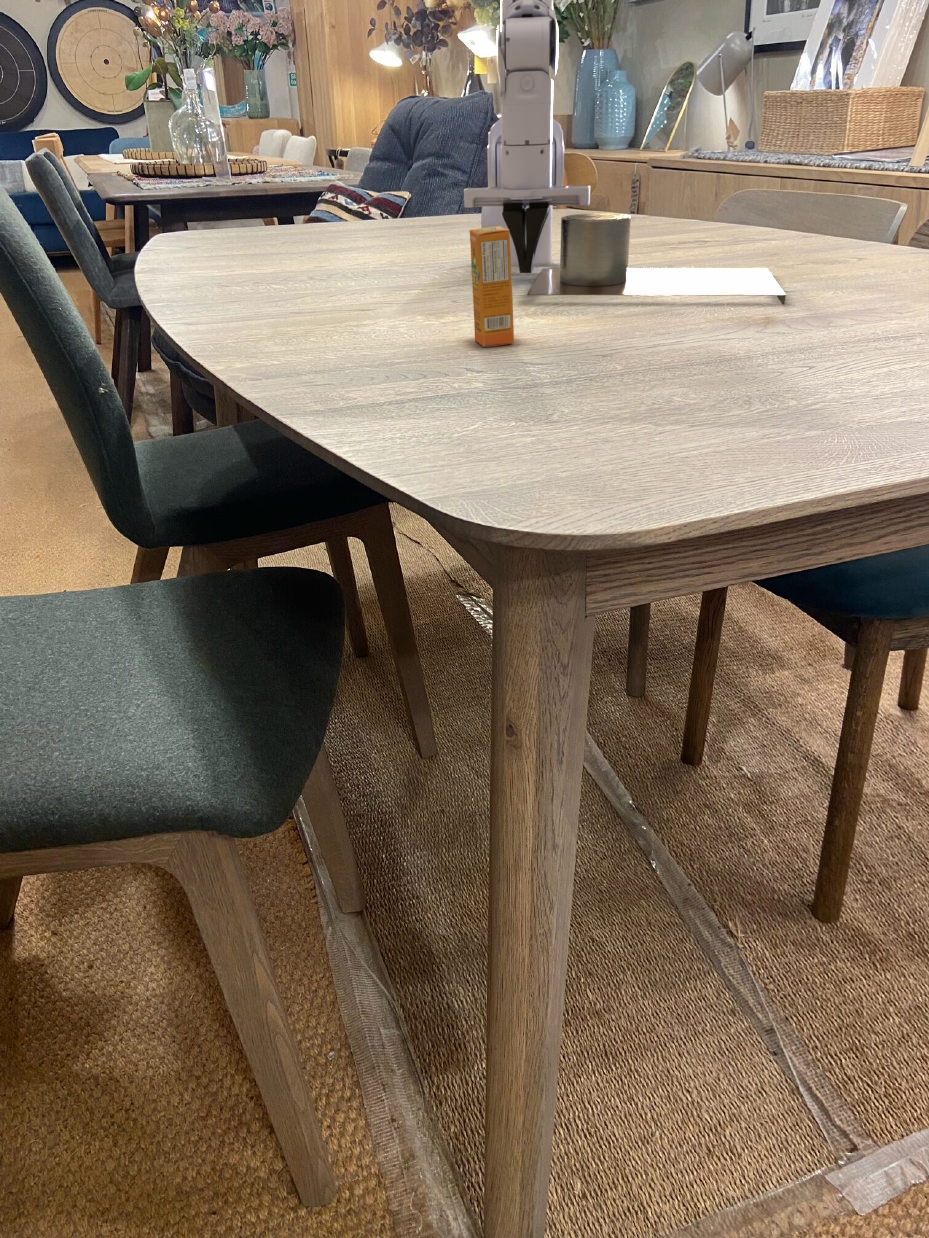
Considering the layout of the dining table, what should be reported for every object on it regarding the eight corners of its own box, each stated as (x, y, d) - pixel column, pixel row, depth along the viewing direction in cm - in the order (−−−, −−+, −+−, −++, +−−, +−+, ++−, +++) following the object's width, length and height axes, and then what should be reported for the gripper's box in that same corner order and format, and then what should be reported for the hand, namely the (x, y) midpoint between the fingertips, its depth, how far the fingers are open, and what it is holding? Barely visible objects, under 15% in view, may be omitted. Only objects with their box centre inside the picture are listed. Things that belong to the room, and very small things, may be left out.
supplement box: (470, 340, 85) (467, 227, 80) (505, 337, 86) (504, 225, 81) (479, 348, 82) (477, 231, 77) (515, 344, 83) (514, 229, 78)
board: (526, 303, 100) (526, 294, 100) (542, 277, 115) (542, 268, 115) (784, 304, 95) (786, 294, 95) (765, 276, 111) (766, 268, 110)
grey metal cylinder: (556, 286, 103) (558, 221, 100) (562, 275, 110) (564, 213, 107) (626, 286, 102) (630, 220, 98) (627, 275, 109) (631, 212, 105)
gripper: (457, 148, 98) (461, 277, 105) (589, 144, 95) (584, 277, 102) (468, 145, 104) (471, 268, 111) (592, 141, 101) (588, 267, 108)
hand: (526, 272), depth 107 cm, fingers closed
